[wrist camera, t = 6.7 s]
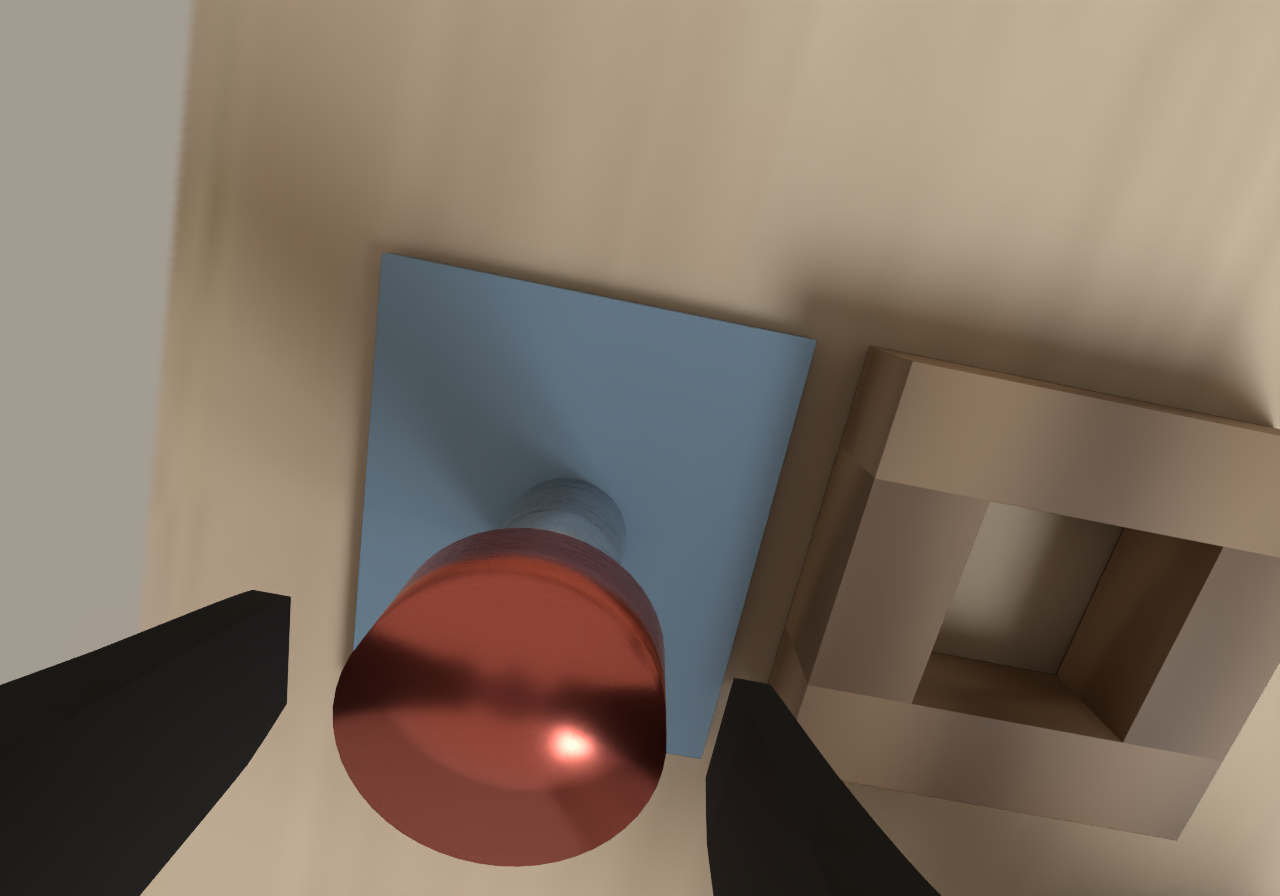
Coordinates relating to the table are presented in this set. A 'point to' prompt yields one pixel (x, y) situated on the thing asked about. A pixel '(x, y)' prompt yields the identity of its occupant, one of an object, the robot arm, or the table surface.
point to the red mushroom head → (512, 689)
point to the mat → (579, 444)
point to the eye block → (1111, 627)
